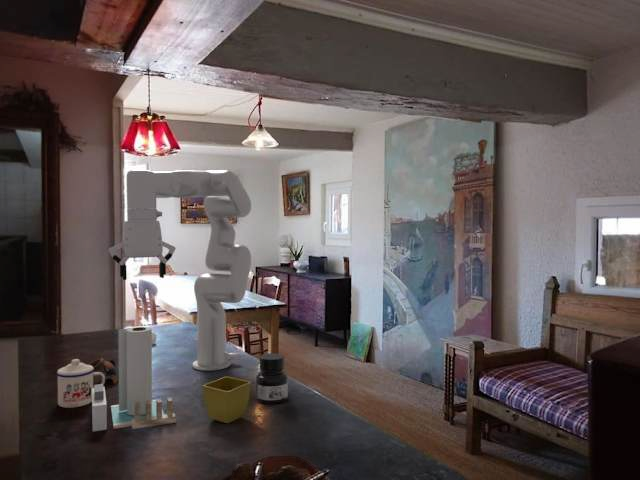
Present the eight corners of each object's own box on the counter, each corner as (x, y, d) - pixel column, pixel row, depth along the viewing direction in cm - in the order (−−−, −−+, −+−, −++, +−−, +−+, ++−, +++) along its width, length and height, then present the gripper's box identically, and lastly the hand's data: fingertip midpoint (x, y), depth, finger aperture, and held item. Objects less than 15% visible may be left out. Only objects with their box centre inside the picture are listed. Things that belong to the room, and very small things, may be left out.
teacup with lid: (60, 411, 129) (59, 366, 129) (54, 401, 137) (53, 358, 136) (109, 401, 137) (109, 359, 136) (100, 392, 144) (100, 352, 144)
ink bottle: (256, 406, 134) (256, 361, 134) (252, 395, 143) (252, 353, 142) (292, 403, 137) (292, 359, 136) (285, 392, 145) (285, 351, 145)
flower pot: (228, 428, 119) (228, 391, 119) (201, 421, 124) (201, 384, 124) (251, 417, 127) (252, 381, 126) (225, 410, 131) (226, 375, 131)
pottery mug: (114, 388, 149) (98, 366, 147) (87, 401, 150) (72, 379, 148) (129, 367, 160) (115, 346, 158) (104, 378, 162) (90, 358, 160)
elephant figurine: (137, 343, 203) (137, 328, 203) (158, 341, 207) (158, 327, 207) (139, 346, 197) (139, 331, 197) (160, 345, 201) (160, 330, 200)
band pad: (158, 401, 137) (158, 399, 137) (166, 420, 124) (166, 417, 124) (110, 408, 132) (110, 405, 132) (113, 428, 119) (113, 425, 119)
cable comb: (174, 418, 125) (174, 397, 125) (175, 422, 123) (175, 400, 123) (131, 425, 121) (131, 402, 120) (132, 429, 118) (132, 406, 118)
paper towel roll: (156, 410, 129) (156, 327, 128) (136, 418, 123) (136, 332, 123) (139, 405, 133) (138, 324, 132) (118, 412, 127) (118, 328, 127)
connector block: (104, 409, 131) (104, 379, 131) (106, 429, 118) (106, 395, 118) (92, 411, 130) (91, 380, 129) (92, 431, 117) (92, 397, 117)
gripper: (172, 215, 143) (173, 275, 144) (106, 215, 136) (108, 278, 137) (177, 215, 137) (178, 278, 138) (108, 216, 129) (110, 282, 130)
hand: (143, 278), depth 137 cm, fingers open, 9 cm apart
